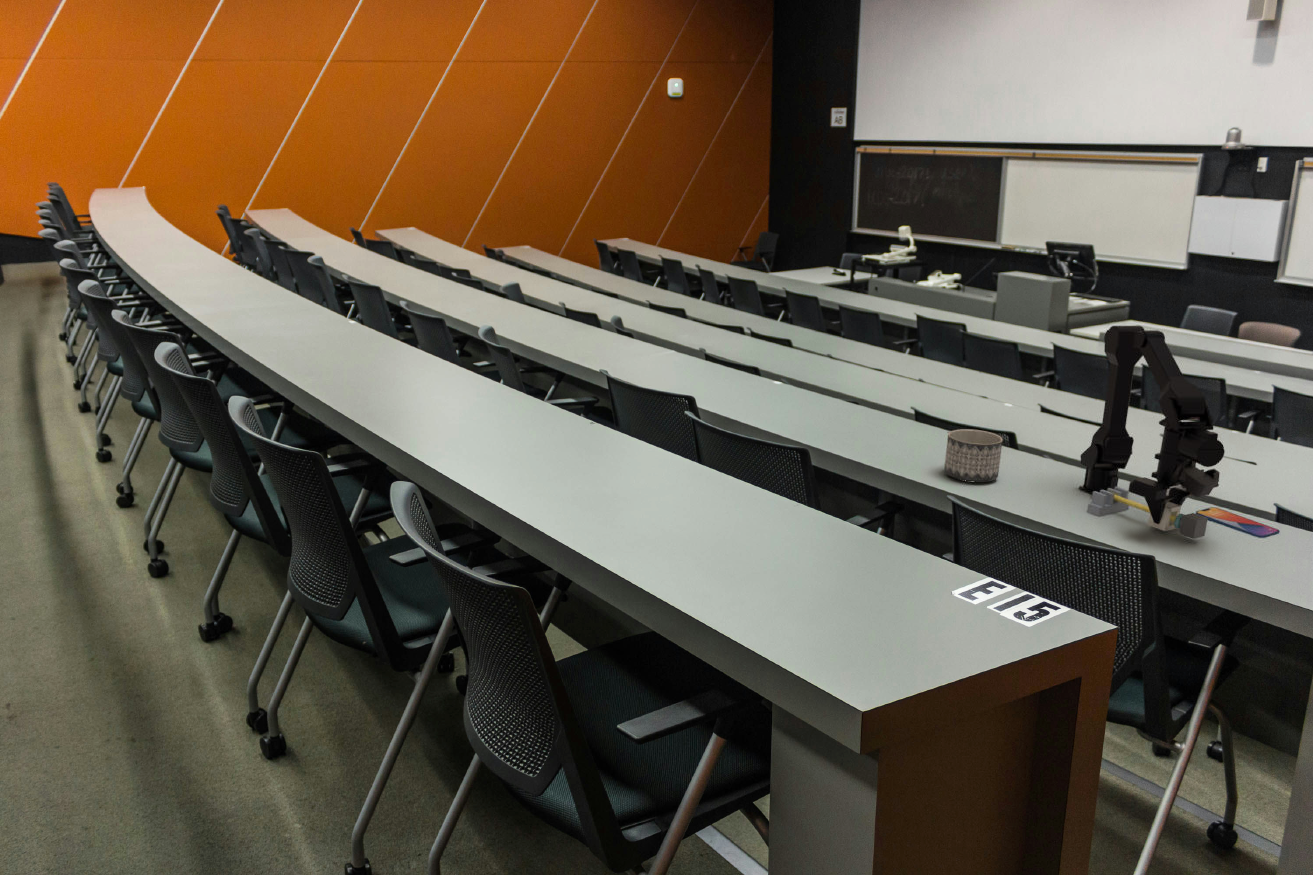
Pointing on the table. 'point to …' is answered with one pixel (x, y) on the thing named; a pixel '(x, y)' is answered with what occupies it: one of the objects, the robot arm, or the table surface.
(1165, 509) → the sleeve
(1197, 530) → the dark grey cube
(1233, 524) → the smartphone
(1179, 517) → the teal puck
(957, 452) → the planter
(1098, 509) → the comb
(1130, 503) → the rod
